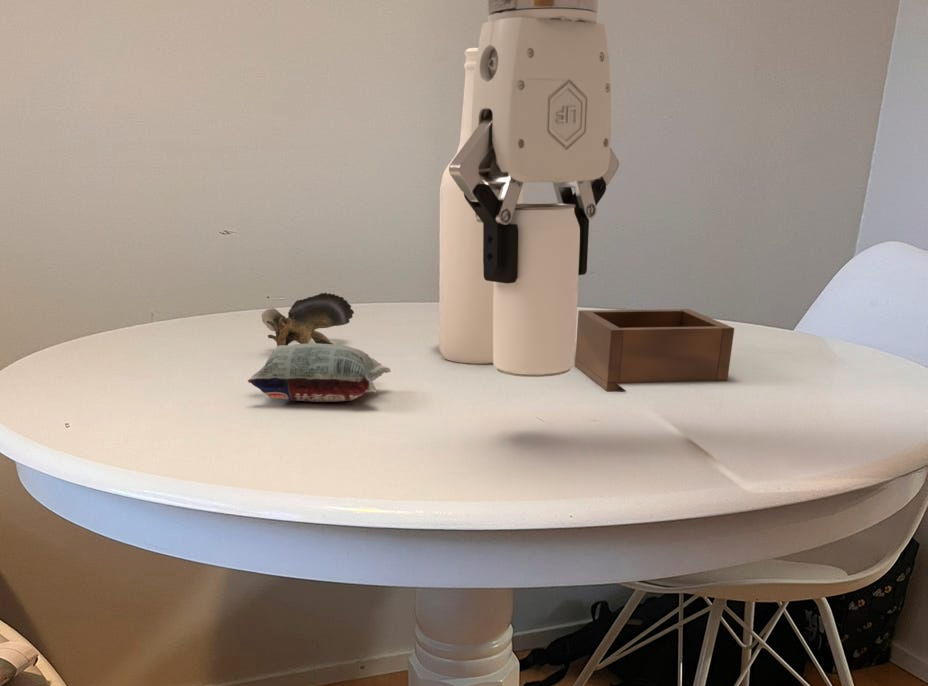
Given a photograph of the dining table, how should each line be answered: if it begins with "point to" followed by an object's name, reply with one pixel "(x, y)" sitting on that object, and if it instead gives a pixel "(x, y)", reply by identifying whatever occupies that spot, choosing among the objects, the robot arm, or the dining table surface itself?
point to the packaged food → (317, 373)
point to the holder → (651, 347)
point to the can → (539, 294)
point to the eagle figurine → (308, 319)
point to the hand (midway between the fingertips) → (535, 275)
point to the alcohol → (464, 260)
